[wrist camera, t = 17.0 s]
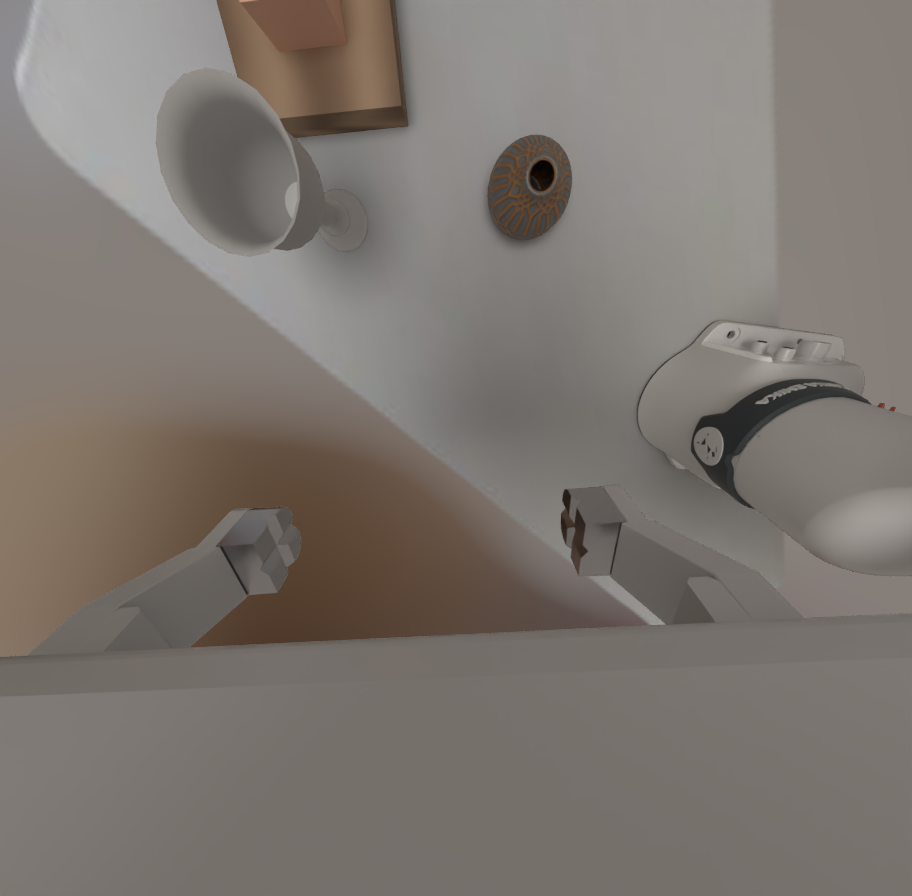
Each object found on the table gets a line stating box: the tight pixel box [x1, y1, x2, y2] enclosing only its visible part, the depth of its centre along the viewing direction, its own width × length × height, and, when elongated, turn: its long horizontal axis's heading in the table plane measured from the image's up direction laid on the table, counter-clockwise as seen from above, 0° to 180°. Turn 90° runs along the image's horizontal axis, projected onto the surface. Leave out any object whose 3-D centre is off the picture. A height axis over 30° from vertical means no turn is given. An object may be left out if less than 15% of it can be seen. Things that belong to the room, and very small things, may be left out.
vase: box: [488, 135, 572, 239], centre depth 28 cm, size 7×7×9 cm
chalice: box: [156, 68, 367, 257], centre depth 24 cm, size 7×7×18 cm
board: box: [217, 0, 408, 138], centre depth 25 cm, size 12×12×4 cm
